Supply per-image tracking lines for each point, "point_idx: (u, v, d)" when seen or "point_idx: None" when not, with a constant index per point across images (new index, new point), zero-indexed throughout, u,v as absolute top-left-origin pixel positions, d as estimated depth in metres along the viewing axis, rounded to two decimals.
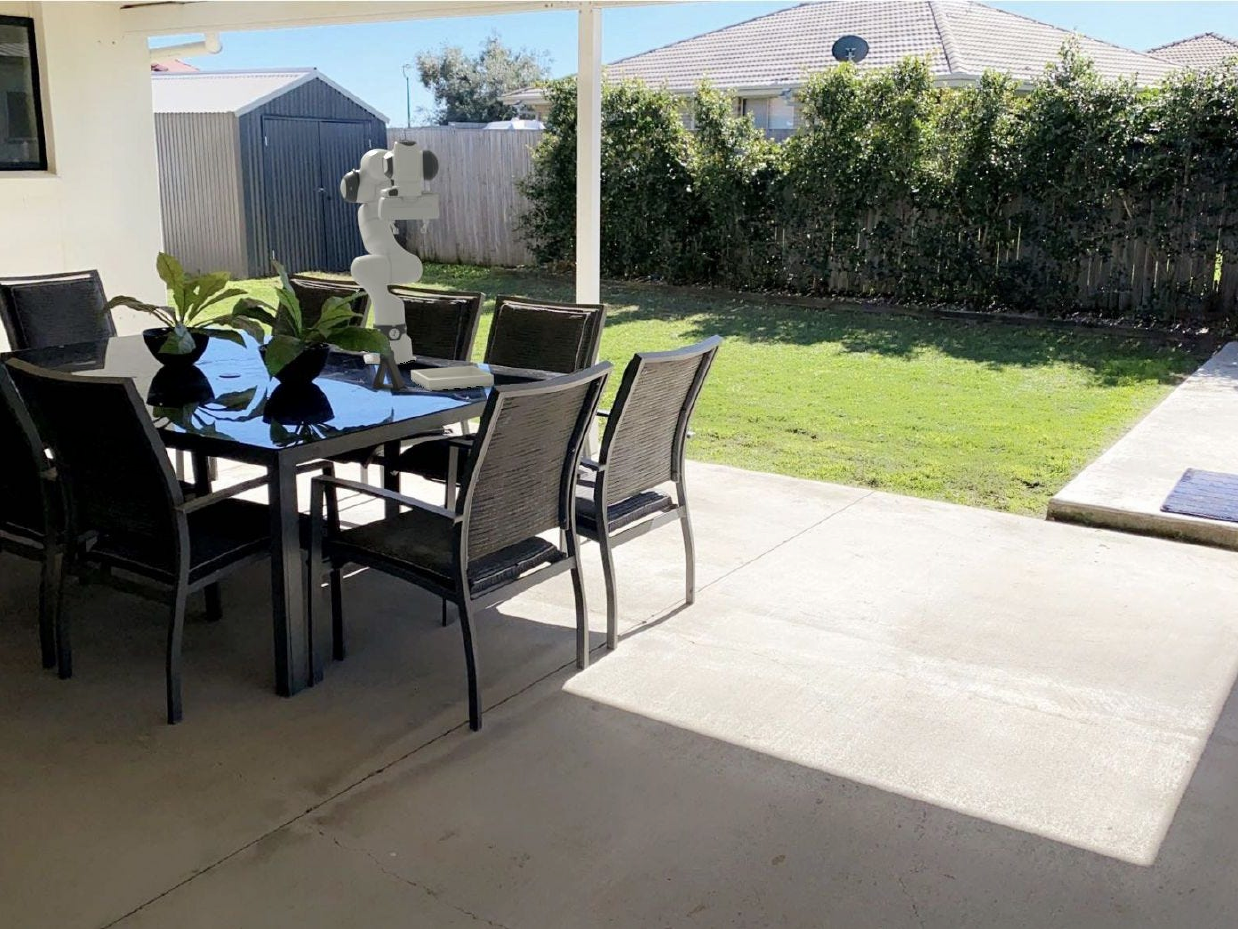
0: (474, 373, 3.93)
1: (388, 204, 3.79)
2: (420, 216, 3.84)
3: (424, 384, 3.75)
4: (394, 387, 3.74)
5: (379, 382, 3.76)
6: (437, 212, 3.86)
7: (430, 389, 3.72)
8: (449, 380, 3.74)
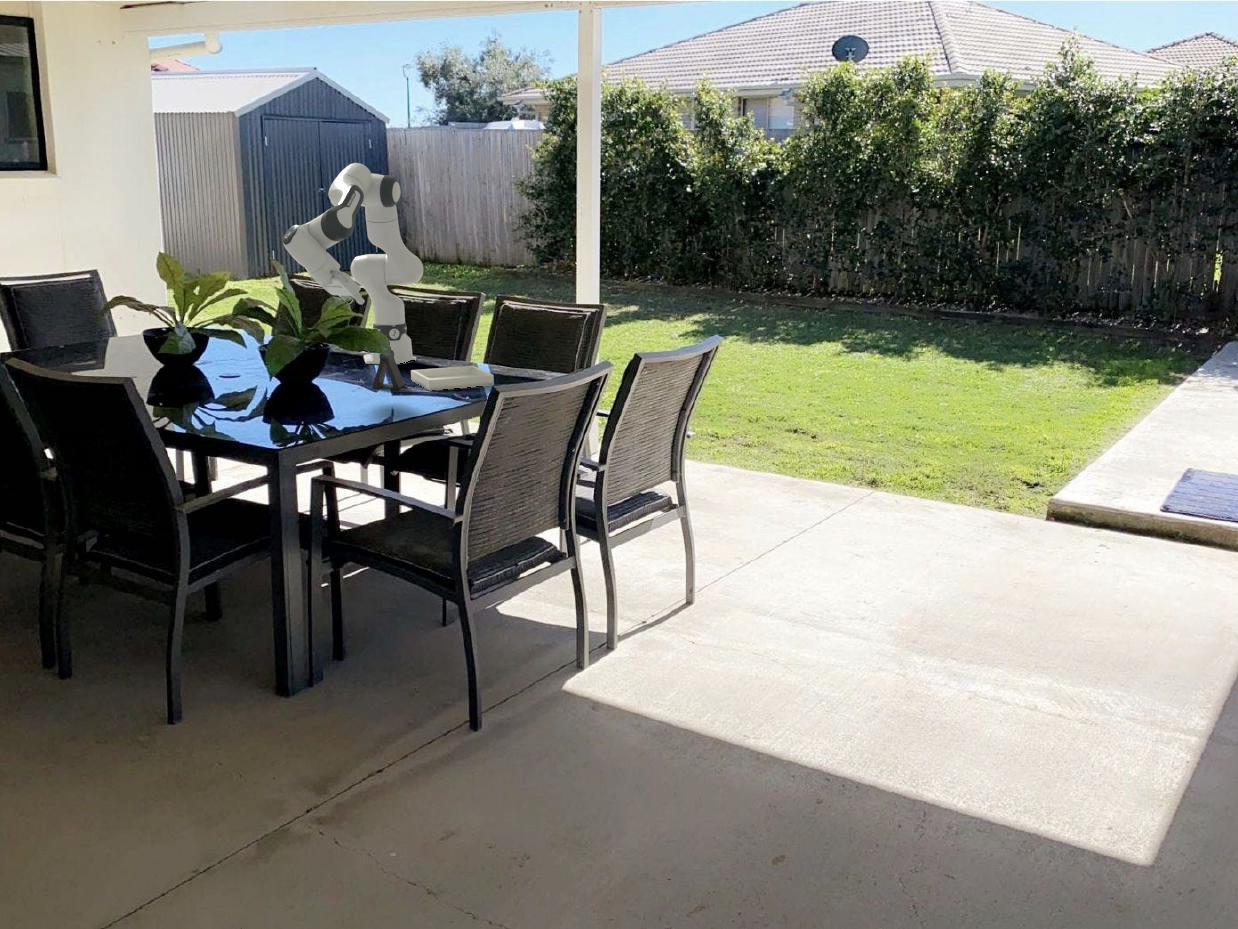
0: (474, 373, 3.93)
1: (323, 284, 3.67)
2: (344, 294, 3.60)
3: (424, 384, 3.75)
4: (394, 387, 3.74)
5: (379, 382, 3.76)
6: (349, 291, 3.55)
7: (430, 389, 3.72)
8: (449, 380, 3.74)
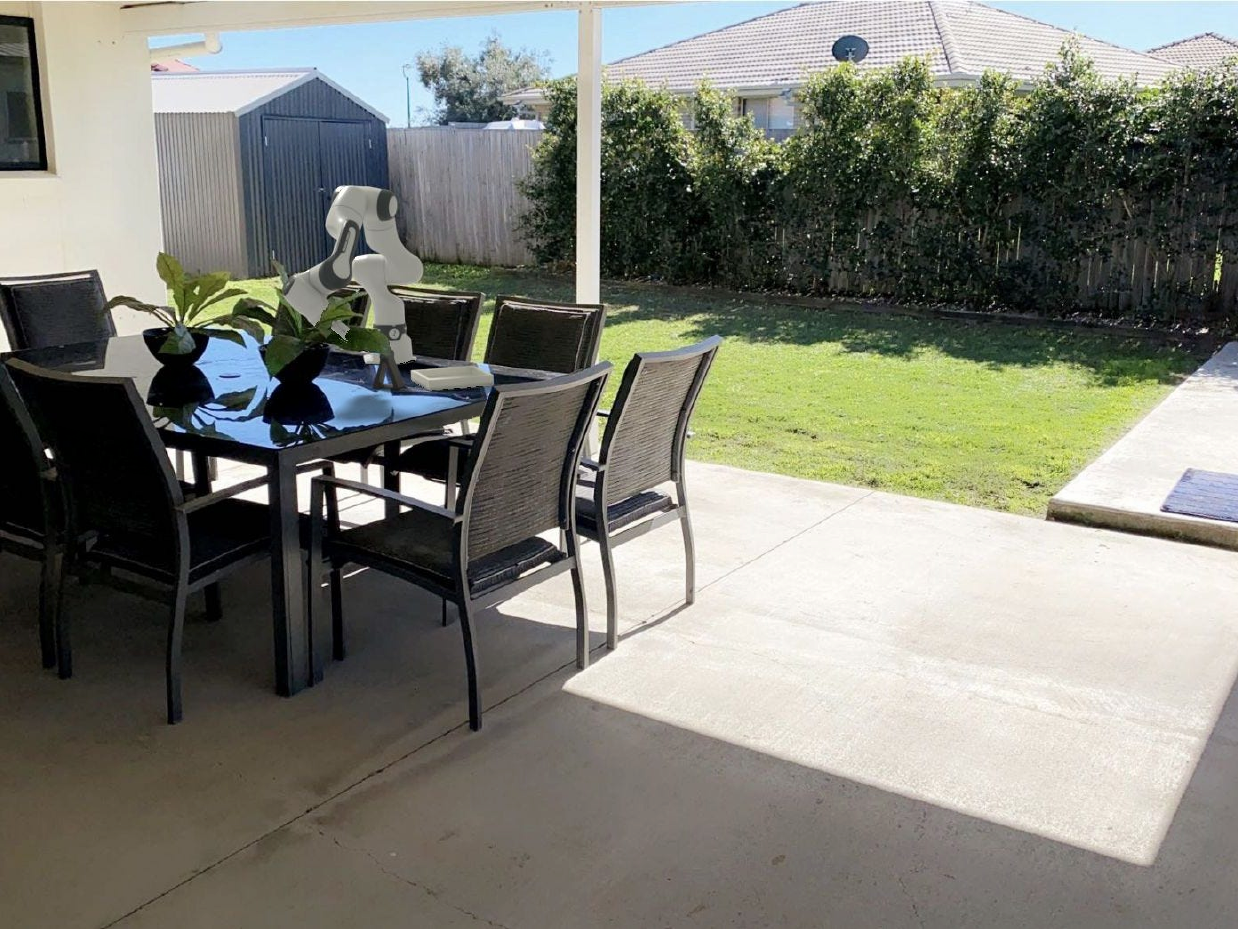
0: (474, 373, 3.93)
1: None
2: None
3: (424, 384, 3.75)
4: (394, 387, 3.74)
5: (379, 382, 3.76)
6: None
7: (430, 389, 3.72)
8: (449, 380, 3.74)
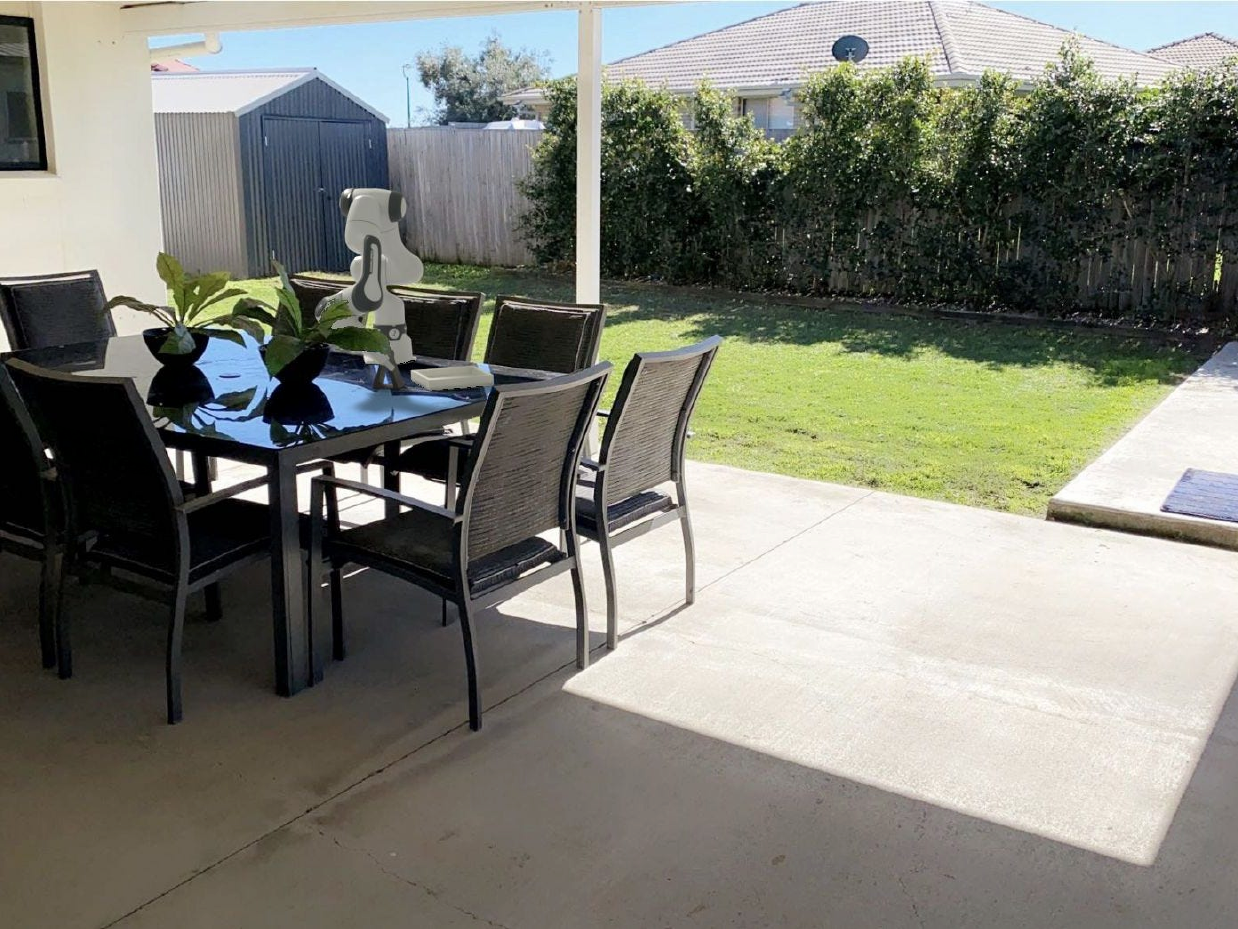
0: (474, 373, 3.93)
1: None
2: (375, 361, 3.70)
3: (424, 384, 3.75)
4: (394, 387, 3.74)
5: (379, 382, 3.76)
6: (377, 362, 3.65)
7: (430, 389, 3.72)
8: (449, 380, 3.74)
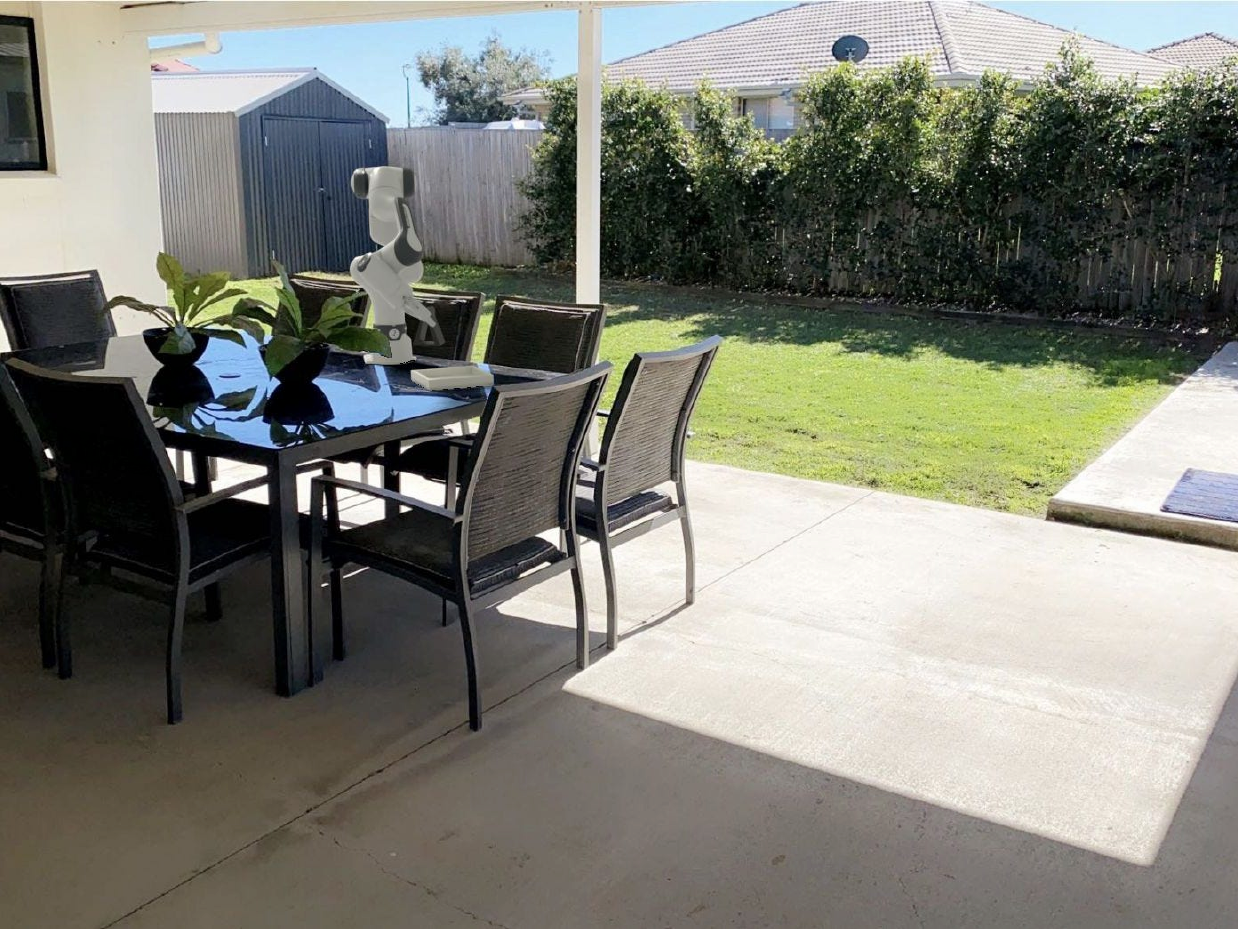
0: (474, 373, 3.93)
1: None
2: (417, 317, 3.72)
3: (424, 384, 3.75)
4: (435, 343, 3.76)
5: (420, 339, 3.77)
6: (419, 317, 3.66)
7: (430, 389, 3.72)
8: (449, 380, 3.74)
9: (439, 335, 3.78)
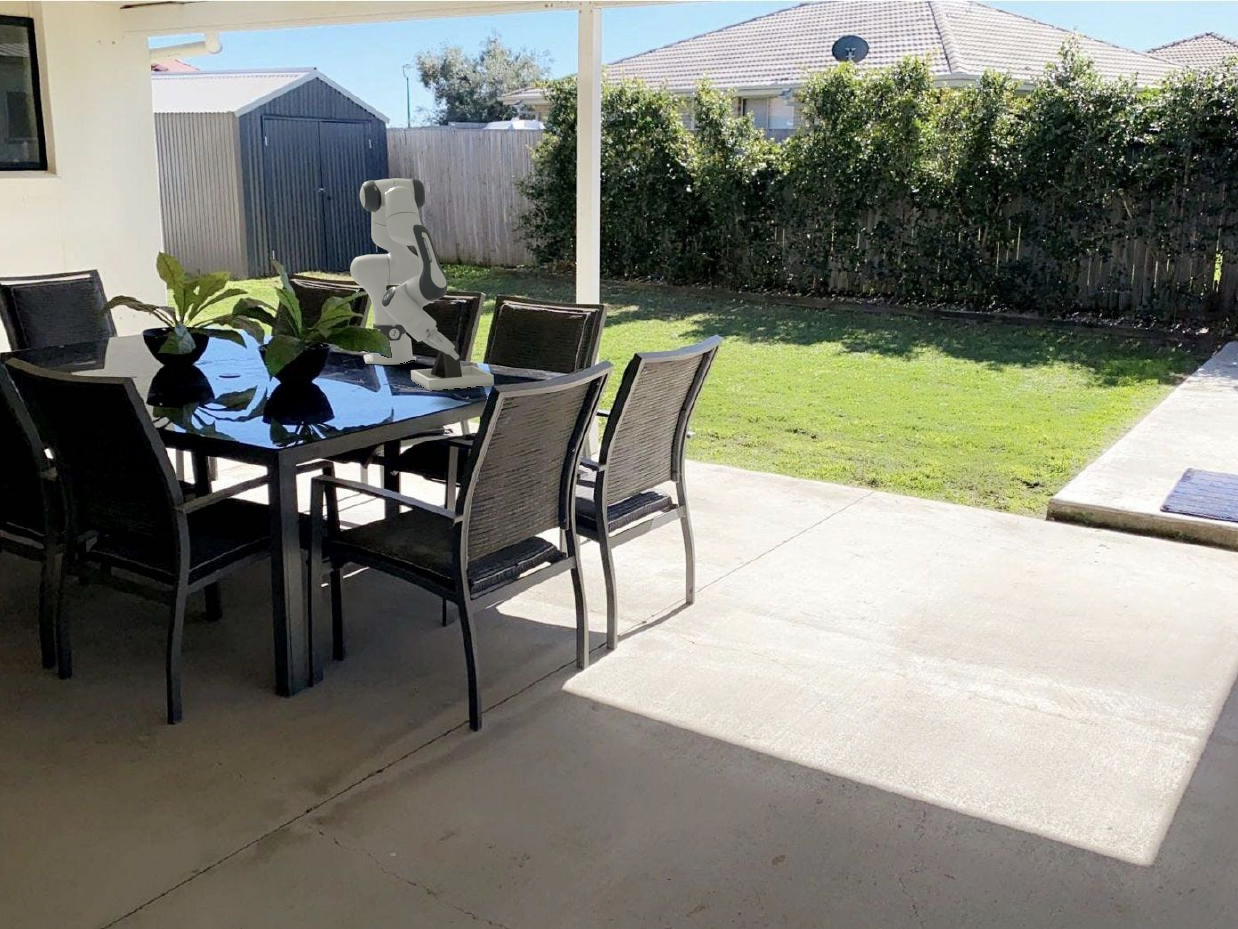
0: (474, 373, 3.93)
1: None
2: (440, 350, 3.77)
3: (424, 384, 3.75)
4: None
5: (438, 370, 3.86)
6: (443, 350, 3.71)
7: (430, 389, 3.72)
8: (449, 380, 3.74)
9: (454, 371, 3.84)
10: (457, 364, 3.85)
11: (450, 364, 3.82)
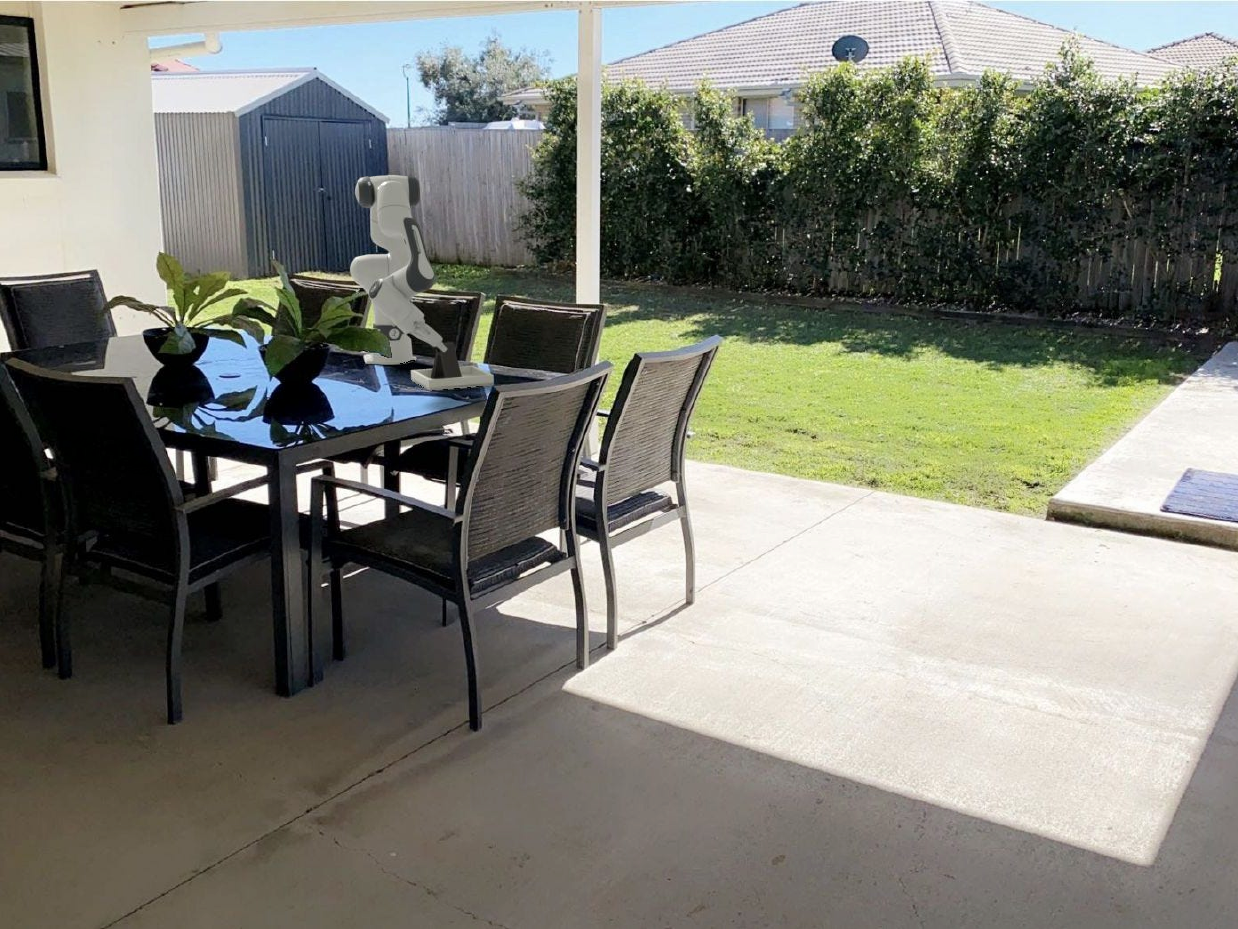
0: (474, 373, 3.93)
1: None
2: (428, 342, 3.75)
3: (424, 384, 3.75)
4: None
5: (437, 373, 3.87)
6: (431, 343, 3.69)
7: (430, 389, 3.72)
8: (449, 380, 3.74)
9: (453, 371, 3.84)
10: (455, 364, 3.85)
11: (448, 364, 3.83)
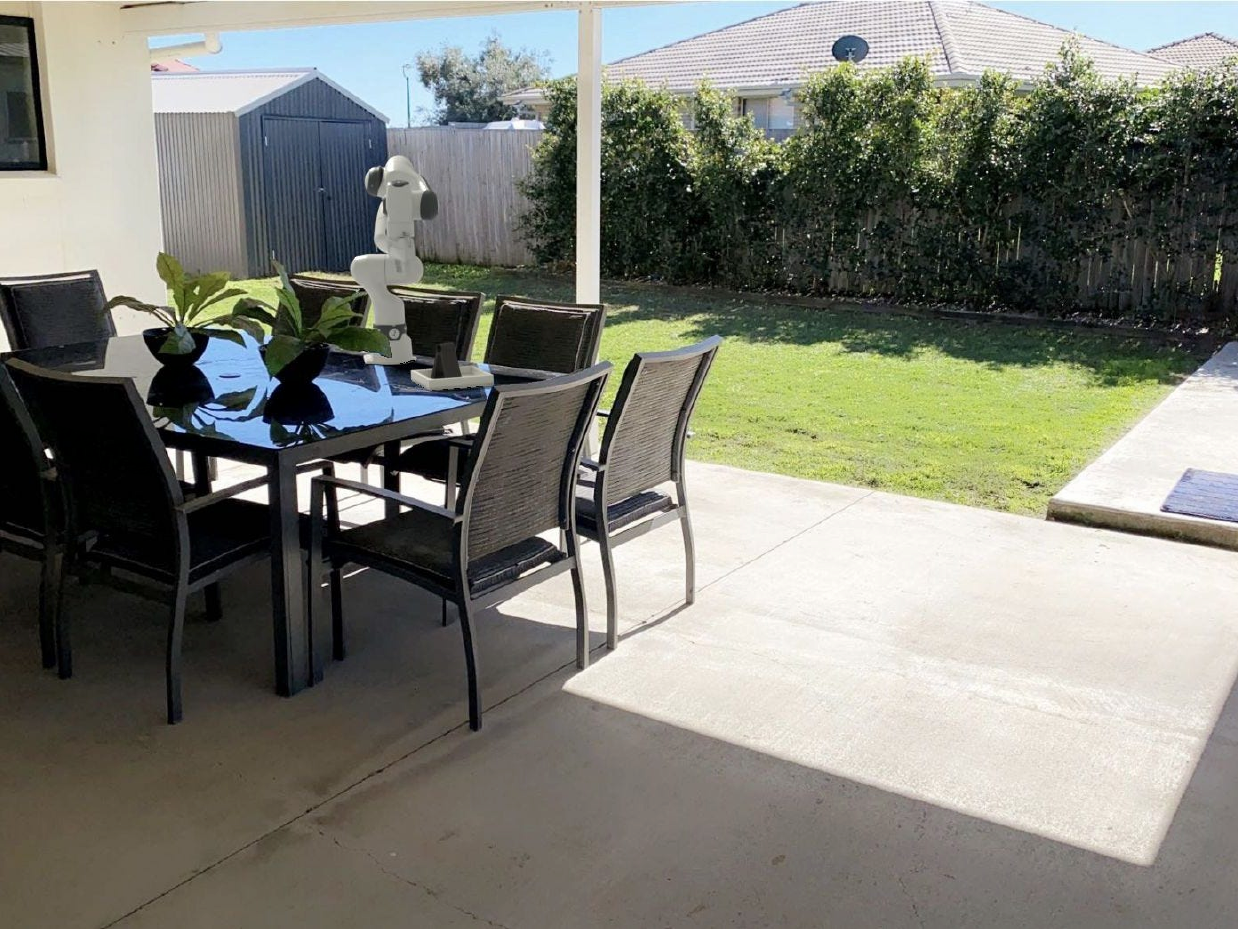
0: (474, 373, 3.93)
1: (390, 243, 3.87)
2: (399, 257, 3.79)
3: (424, 384, 3.75)
4: None
5: (437, 373, 3.87)
6: (404, 255, 3.74)
7: (430, 389, 3.72)
8: (449, 380, 3.74)
9: (453, 371, 3.84)
10: (455, 364, 3.85)
11: (448, 364, 3.83)
